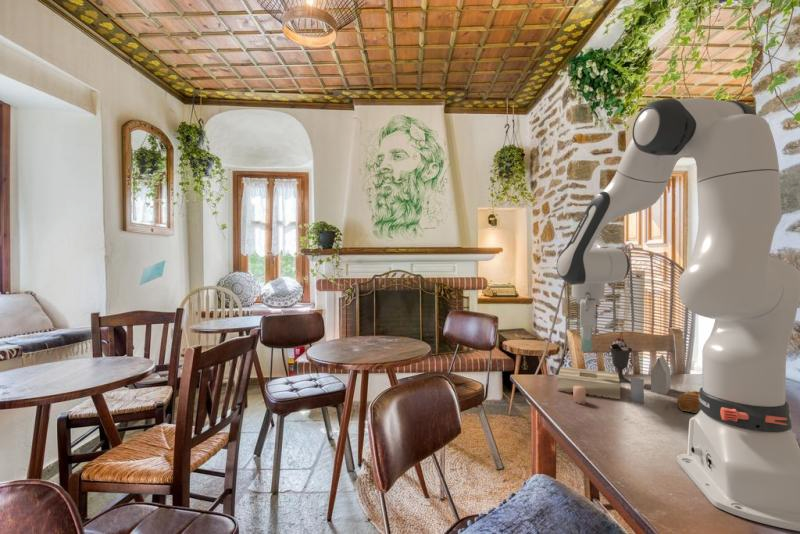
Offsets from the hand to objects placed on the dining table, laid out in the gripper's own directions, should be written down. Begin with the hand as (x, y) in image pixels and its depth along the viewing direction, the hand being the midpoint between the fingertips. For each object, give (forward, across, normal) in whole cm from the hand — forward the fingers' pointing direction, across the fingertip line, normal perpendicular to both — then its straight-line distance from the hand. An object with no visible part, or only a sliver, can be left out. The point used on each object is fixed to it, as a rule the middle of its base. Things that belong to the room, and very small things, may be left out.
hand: (587, 337), depth 115 cm
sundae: (+15, +13, -10) cm, 22 cm away
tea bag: (+15, +7, -19) cm, 26 cm away
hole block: (+15, 0, 0) cm, 15 cm away
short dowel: (+15, -13, +2) cm, 20 cm away
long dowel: (+4, 0, 0) cm, 4 cm away
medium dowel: (+15, -6, -12) cm, 20 cm away
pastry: (+15, -6, -25) cm, 30 cm away
